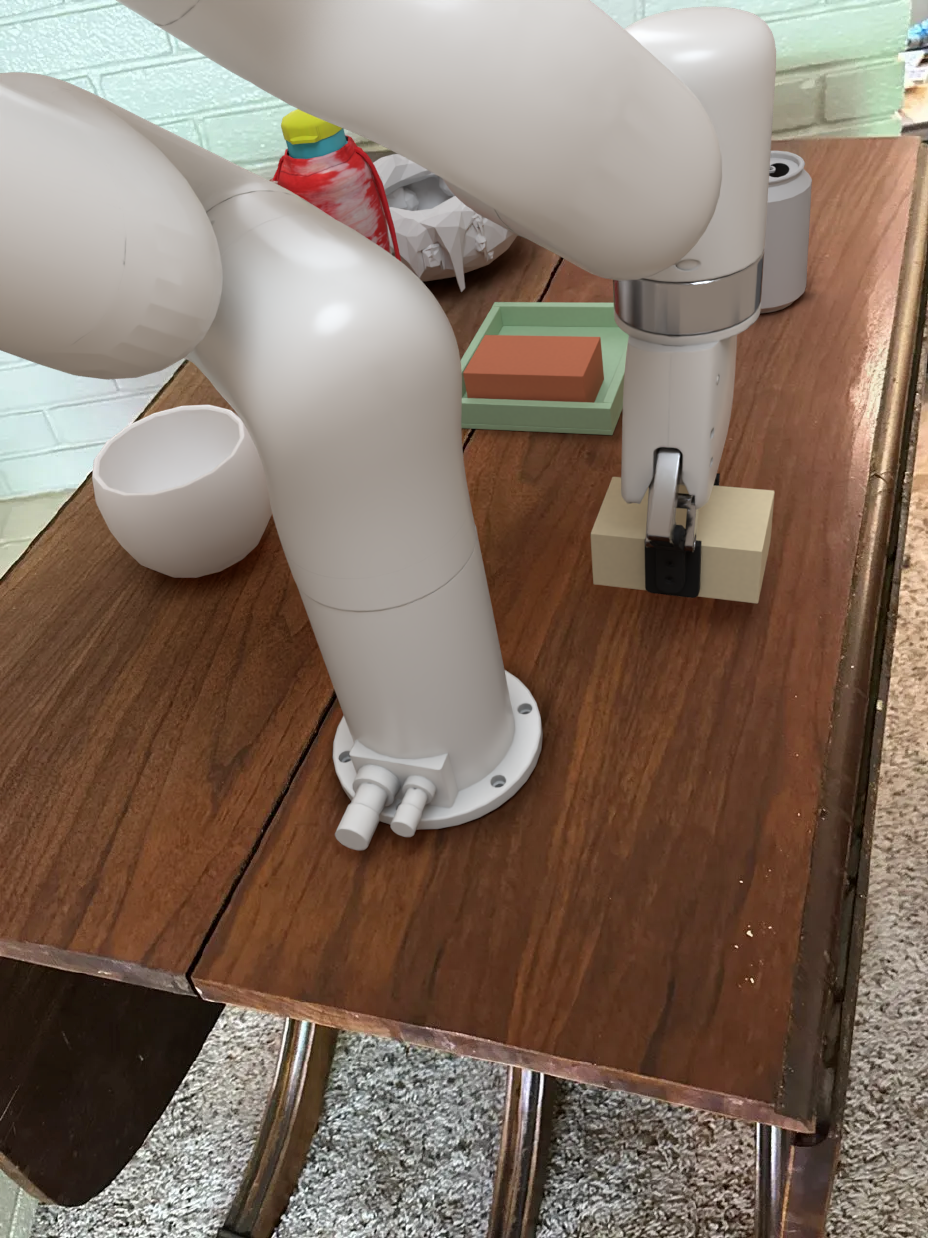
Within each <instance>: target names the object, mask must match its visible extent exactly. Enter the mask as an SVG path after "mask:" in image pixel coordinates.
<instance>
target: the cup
mask: <svg viewBox="0 0 928 1238" xmlns="http://www.w3.org/2000/svg"><path fill="white" fill-rule="evenodd" d="M91 481H92V487H93V492H94V493H93V494H94V500H95V504H96V506H97V508H98V510H99V512H100V515H101V517H102V518H103V520H104V522H105V524H106V527H107V529H108V530H109V532H110V533H111V534H112V536H113V537H114V539H116V541H117V542H118V544H119V545H120V546H121V547H122V548H123V549H124V550H125V551H126V552H127V553H128V554H129V555H130V556H131V557H132V558H133V559H134V560H135V561H136V562H137V563H138V564H139V565H140V566H141V567H145V568H147V569H150V570H152V571H155V572H158V573H160V574H163V575H166V576H168V577H171V578H174V579H175V578H179V579H180V578H181V579H185V578H186V579H187V578H189V579H190V578H191V579H196V578H200V577H204V576H209V575H213V574H217V573H221V572H223V571H225V570H226V569H229V568H231V567H232V566H233V565H235V564H237V563H239V562H241V561H242V560H244V559H245V558H246V557H247V556H248V555H249V554H250V553H251V552H252V551H253V550H254V549H256V547H257V546H259V544H260V541H261V540H262V537H263V535H264V533H265V531H266V528H267V526H268V524H269V521H270V520H271V517H272V516H273V514H272V509H271V505H270V499H269V493H268V486H267V481H266V477H265V473H264V469H263V466H262V463H261V460H260V457H259V455H258V452H257V450H256V447H255V445H254V443H253V441H252V439H251V436H250V434H249V432H248V431H247V429H246V427H245V425H244V423H243V422H242V420H241V419H240V417H239V416H238V415H237V413H236V412H235V411H232V410H231V409H228V408H224V407H220V406H216V405H212V404H193V405H192V404H191V405H181V406H176V407H173V408H168V409H164V410H160V411H156V412H153V413H151V414H149V415H146V416H145V417H143V418H140V419H139V420H136V421H133V422H132V423H130V424H128V425H126V426H125V427H124V428H122V429H121V430H120V431H119V432H117V433H116V434H115V435H113V436H112V437H110V438H109V439H108V440H106V442H105V443H104V444H103V446H102V447H101V449H100V450H99V452H98V453H97V454H96V456H95V458H94V459H93V462H92V474H91Z"/></svg>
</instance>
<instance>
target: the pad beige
mask: <svg viewBox="0 0 928 1238" xmlns="http://www.w3.org/2000/svg"><path fill="white" fill-rule="evenodd" d="M648 493H649V487H648V489H647V491H646V493H645V495H644V497H643V499H642V501H641V503H640V504H637V503H631V504H628V503H626V502H625V500H624V499H623V498H622V495H621V476H612V477H611V480H610V482H609V486H608V487H607V490H606V493H605V495H604V497H603V500H602V503H601V506H600V508H599V511H598V513H597V516H596V519H595V521H594V524H593V527H592V529H591V531H590V547H591V566H592V567H591V568H592V583H593V585H595V586H596V585H598V586H605V587H606V586H607V587H614V588H623V589H631V590H641V591H646V589H645V538H646V523H647V508H648ZM679 493H684V494H689V493H688V491H687V489H686V486H685V485H679ZM775 494H776V493H775V490H773V489H760V488H749V487H748V488H747V487H736V486H725V485H719V486H713V488H712V492H711V495H710V498H709V501H708V502H707V503H706V504H705V505H704V506H703V507H701V508H699V513H698V525H697V537H696V540H698V541H702V544H701V577H700V591H699V595H698V596H697V598H706V599H715V600H723V601H732V602H741V603H749V604H759V601H760V595H761V591H762V586H763V581H764V576H765V571H766V566H767V561H768V556H769V552H770V551H769V550H770V545H771V540H772V539H771V538H772V526H773V515H774V514H773V513H774V506H775V505H774V504H775ZM686 515H687V509H683V508H676V517H675V521H676V525H682V526H683V527H684V528H686Z"/></svg>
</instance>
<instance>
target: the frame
mask: <svg viewBox="0 0 928 1238" xmlns="http://www.w3.org/2000/svg"><path fill="white" fill-rule="evenodd" d="M485 335H514V336H578V337H600V338H601V349H602V361H603V372H604V380H603V383H602V385H601V388H600V390H599V392H598V395H597V397H596V400H595V402H594V403H591V402H563V401H536V400H508V399H481V398H468V397H467V392H466V386H465V381H464V376H463V372H464V370H465V369H466V367H467V365H468V364H469V362H470V360H471V358H472V357H473V355H474V353H475V351H476V350H477V348H478V346H479V344H480V343H481V341H482V339H483V338H484V336H485ZM628 337H629V335H628V334H627V333H625V332H624V331H622V330H621V329H620V328H619V327H618V325H617V324H616V322H615V319H614V302H567V301H565V302H561V301H559V302H558V301H557V302H556V301H552V302H551V301H548V302H547V301H546V302H545V301H543V302H541V301H537V302H536V301H528V302H526V301H494V302H493V304H492V305H491V308H490V310H489V311H488V313H487V315H486V317H485V318H484V320H483V321H482V323H481V325H480V327H479V328H478V330H477V331H476V333H475V335H474V336H473V338H472V340H471V342H470V343H469V345H468V347H467V348H466V350H465V351H464V354H463V356H462V357H461V358H460V361H461V371H462V415H461V429H473V430H494V431H511V432H513V431H514V432H534V433H536V432H537V433H553V434H554V433H557V434H578V435H579V434H580V435H581V434H582V435H601V436H613V435H614V432H615V429H616V427H617V424H618V422H619V419H620V416H621V414H622V412H623V390H624V374H625V363H626V353H627V345H628Z"/></svg>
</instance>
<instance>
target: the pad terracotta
mask: <svg viewBox="0 0 928 1238" xmlns="http://www.w3.org/2000/svg"><path fill="white" fill-rule="evenodd" d="M463 376H464V381H465V386H466V392H467V397H468V398H481V399H508V400H536V401H563V402H591V403H594V402H595V400H596V397H597V395H598V392H599V390H600V388H601V385H602V383H603V380H604V372H603V361H602V349H601V338H600V337H578V336H514V335H485V336H484V338H483V339H482V341H481V343H480V344H479V346H478V348H477V350H476V351H475V353H474V355H473V357H472V358H471V360H470V362H469V364H468V365H467V367H466V369H465V370H464V372H463Z"/></svg>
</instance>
